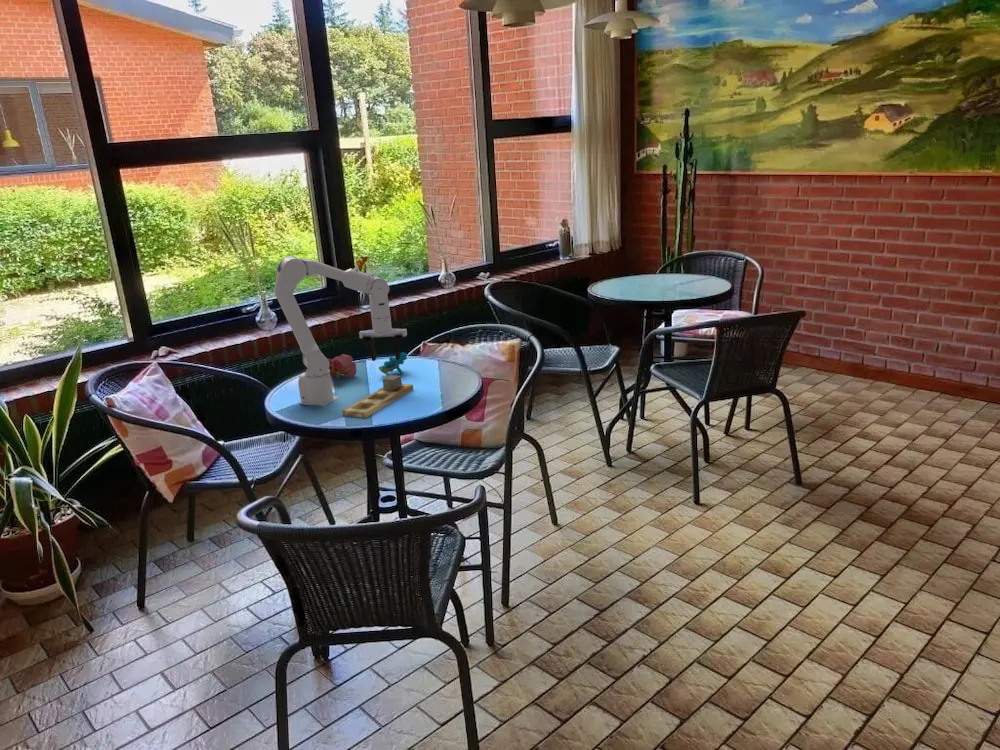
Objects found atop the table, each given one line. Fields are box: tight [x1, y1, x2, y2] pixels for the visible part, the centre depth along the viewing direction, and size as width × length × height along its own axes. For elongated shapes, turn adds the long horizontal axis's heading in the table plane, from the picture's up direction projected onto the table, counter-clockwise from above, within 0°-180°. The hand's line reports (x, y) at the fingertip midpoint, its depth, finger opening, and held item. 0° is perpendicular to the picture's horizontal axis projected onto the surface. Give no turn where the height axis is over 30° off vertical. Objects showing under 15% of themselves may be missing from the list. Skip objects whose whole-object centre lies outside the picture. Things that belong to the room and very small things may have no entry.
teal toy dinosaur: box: [378, 352, 408, 377], centre depth 245 cm, size 11×6×10 cm
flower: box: [327, 353, 357, 384], centre depth 245 cm, size 11×10×10 cm
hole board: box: [341, 383, 414, 418], centre depth 219 cm, size 8×25×2 cm, turn 155°
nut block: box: [382, 374, 403, 392], centre depth 224 cm, size 4×4×5 cm
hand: (386, 359), depth 229 cm, fingers open, 7 cm apart
